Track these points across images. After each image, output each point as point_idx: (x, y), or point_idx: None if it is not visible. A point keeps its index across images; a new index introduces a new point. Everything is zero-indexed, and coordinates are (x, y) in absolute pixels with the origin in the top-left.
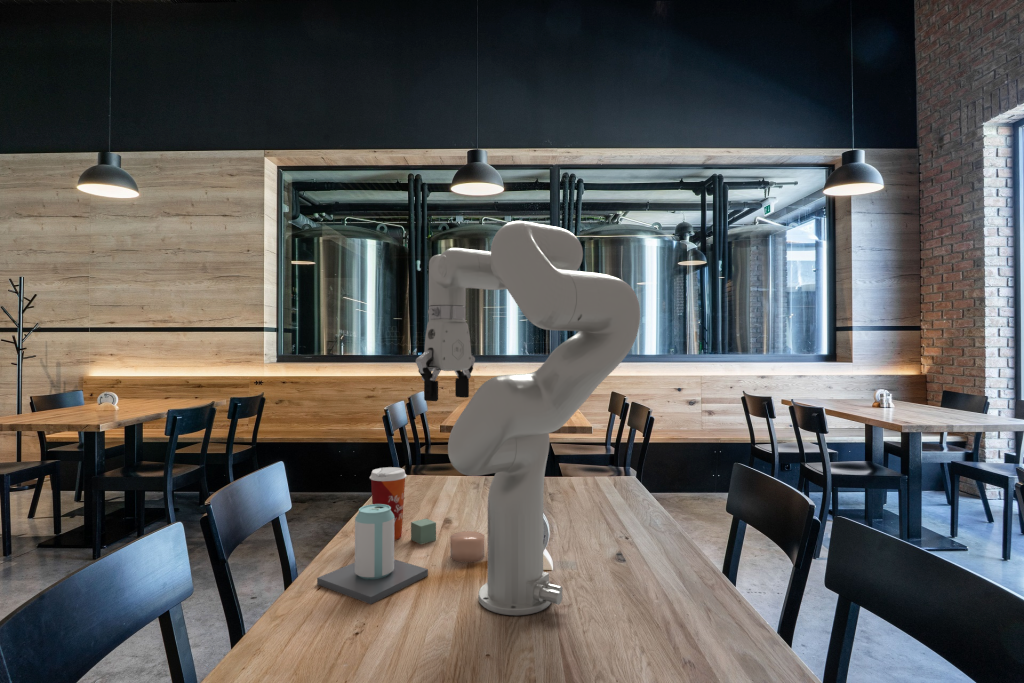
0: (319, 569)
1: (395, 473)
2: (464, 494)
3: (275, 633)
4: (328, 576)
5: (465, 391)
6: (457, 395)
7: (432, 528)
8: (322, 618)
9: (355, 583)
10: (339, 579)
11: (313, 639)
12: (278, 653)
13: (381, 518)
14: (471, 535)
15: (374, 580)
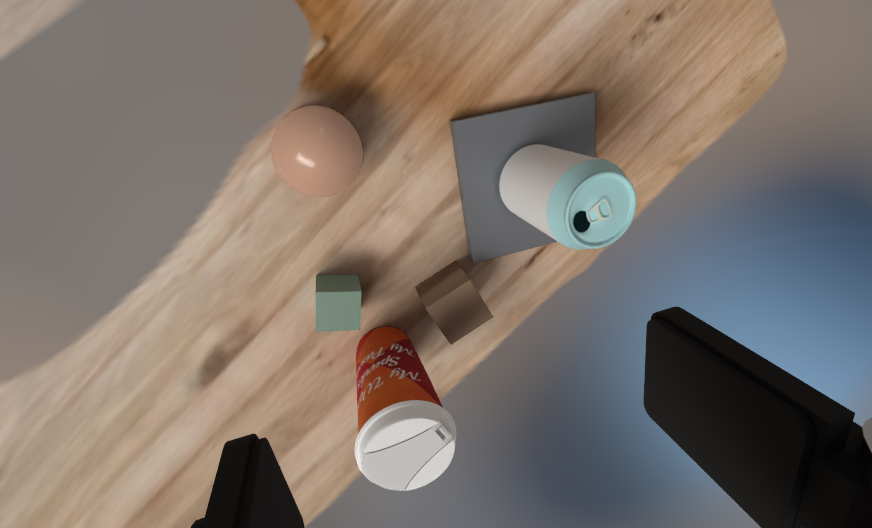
0: (554, 282)
1: (415, 418)
2: (37, 520)
3: (709, 115)
4: None
5: (258, 487)
6: (298, 517)
7: (326, 286)
8: (654, 107)
9: None
10: None
11: (697, 54)
12: (739, 56)
13: (607, 165)
14: (303, 154)
15: None
